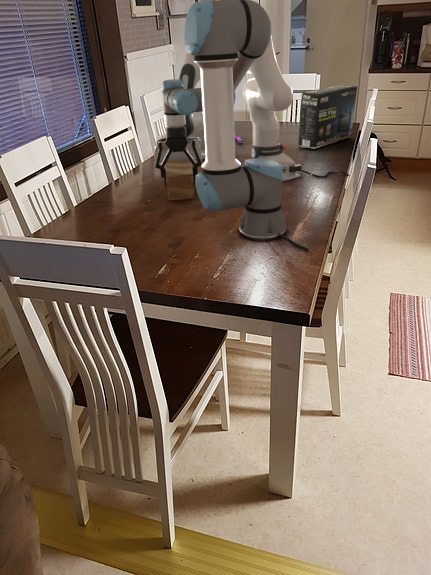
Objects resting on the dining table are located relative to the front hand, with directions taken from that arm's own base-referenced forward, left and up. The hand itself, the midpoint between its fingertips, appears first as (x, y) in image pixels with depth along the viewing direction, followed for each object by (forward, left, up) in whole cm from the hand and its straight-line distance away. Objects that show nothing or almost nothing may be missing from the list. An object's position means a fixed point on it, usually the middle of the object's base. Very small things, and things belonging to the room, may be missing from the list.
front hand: (180, 184), depth 179 cm
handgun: (+24, -88, -5) cm, 91 cm away
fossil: (+14, -53, -5) cm, 55 cm away
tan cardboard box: (+4, -6, -5) cm, 8 cm away
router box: (-25, -101, -5) cm, 104 cm away
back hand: (+13, -18, -1) cm, 23 cm away
